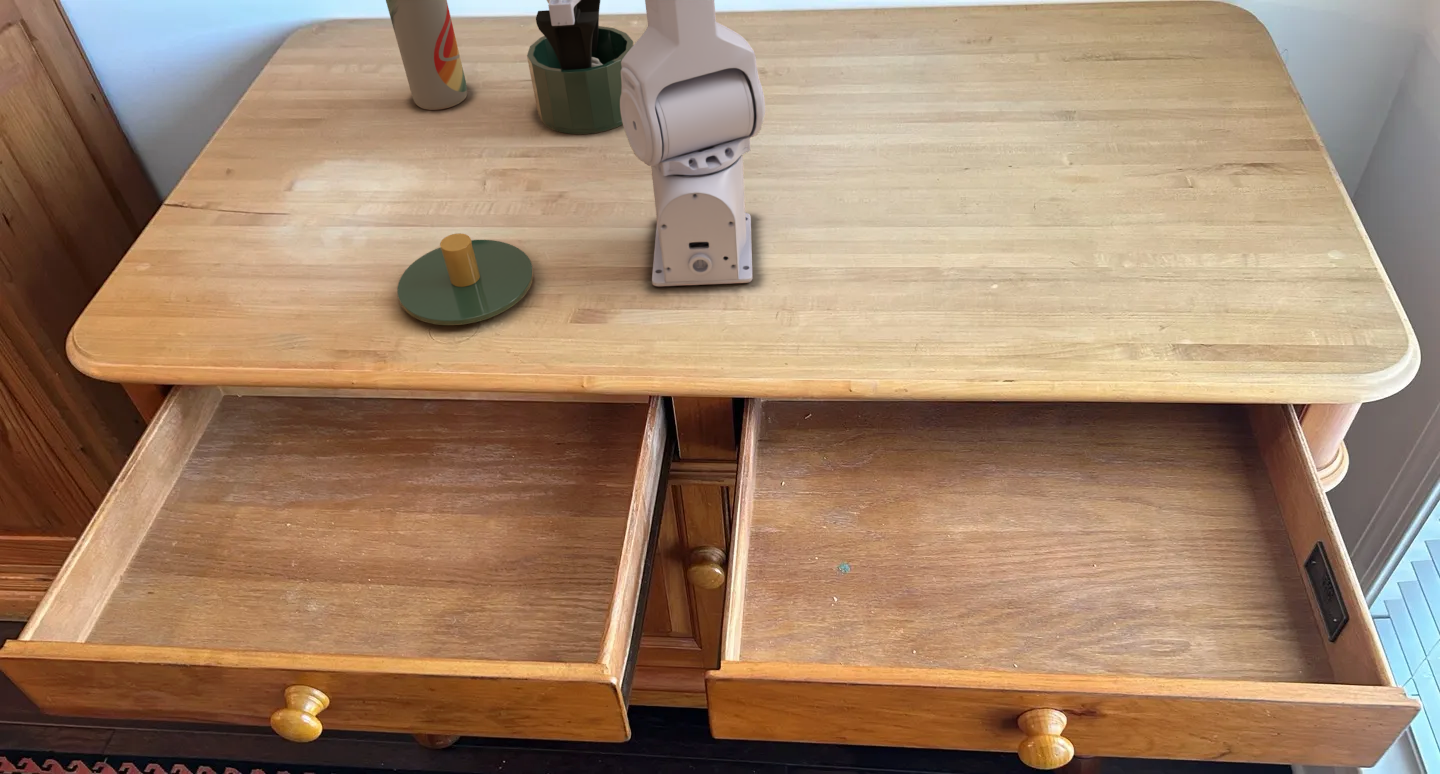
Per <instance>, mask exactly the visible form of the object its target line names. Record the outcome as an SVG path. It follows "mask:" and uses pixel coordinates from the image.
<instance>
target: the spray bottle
mask: <svg viewBox="0 0 1440 774" xmlns="http://www.w3.org/2000/svg"><path fill="white" fill-rule="evenodd" d="M385 3H386V7H387V11H388V13H389V17H390V21H391V25H392V28H393V32H394V37H395V39H396V42H397V46H398V50H399V54H400V57H401V62H402V65H403V68H404V72H405V76H406V79H407V83H408V86H409V89H410V94H411V97H412V100H413V102H414V104H415V105H416V106H418V107H419V108H421V109H424V110H430V111H432V110H435V111H436V110H445V109H449V108H452V107H454V106H457V105H459V104H460V103H462V102H463V101H464V100H465V99H466V98H467V96H468V85H467V81H466V77H465V72H464V67H463V64H462V59H461V55H460V51H459V47H458V43H457V38H456V34H455V30H454V25H453V21H452V17H451V12H450V8H449V3H448V0H385Z"/></svg>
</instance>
